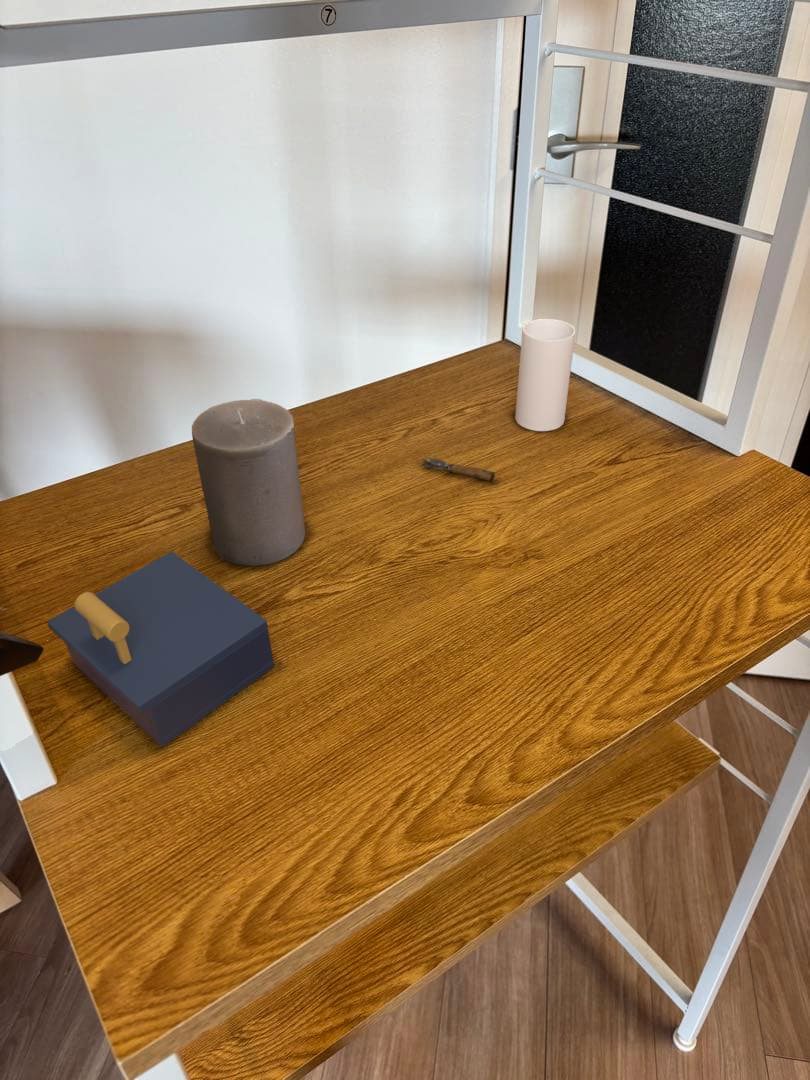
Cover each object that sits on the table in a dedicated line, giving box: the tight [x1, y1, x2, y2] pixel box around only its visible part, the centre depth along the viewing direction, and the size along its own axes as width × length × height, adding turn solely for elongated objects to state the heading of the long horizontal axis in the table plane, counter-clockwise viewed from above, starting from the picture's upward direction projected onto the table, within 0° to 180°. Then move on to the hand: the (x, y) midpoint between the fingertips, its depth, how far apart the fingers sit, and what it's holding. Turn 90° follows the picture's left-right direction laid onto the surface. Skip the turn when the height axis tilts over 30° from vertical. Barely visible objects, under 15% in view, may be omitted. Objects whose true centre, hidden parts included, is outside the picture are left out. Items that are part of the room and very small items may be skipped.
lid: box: [46, 551, 269, 713], centre depth 68 cm, size 12×14×5 cm
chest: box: [65, 627, 275, 748], centre depth 71 cm, size 12×14×5 cm
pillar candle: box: [191, 398, 306, 567], centre depth 82 cm, size 10×10×15 cm
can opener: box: [421, 458, 496, 482], centre depth 95 cm, size 9×2×1 cm, turn 60°
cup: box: [514, 318, 576, 432], centre depth 101 cm, size 6×6×12 cm
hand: (7, 620), depth 58 cm, fingers open, 9 cm apart
